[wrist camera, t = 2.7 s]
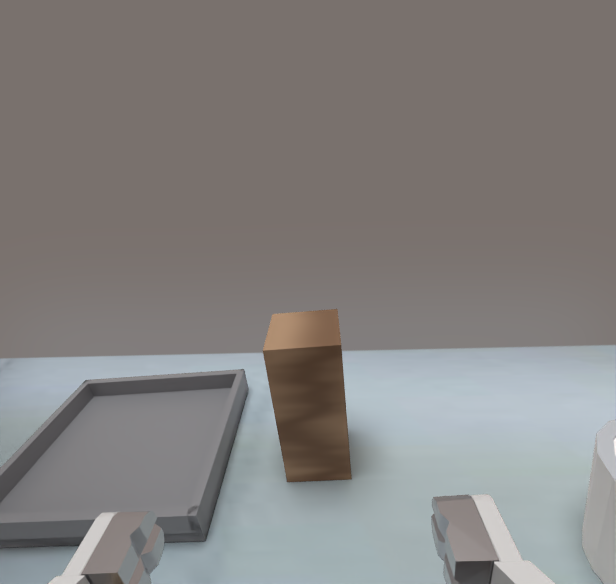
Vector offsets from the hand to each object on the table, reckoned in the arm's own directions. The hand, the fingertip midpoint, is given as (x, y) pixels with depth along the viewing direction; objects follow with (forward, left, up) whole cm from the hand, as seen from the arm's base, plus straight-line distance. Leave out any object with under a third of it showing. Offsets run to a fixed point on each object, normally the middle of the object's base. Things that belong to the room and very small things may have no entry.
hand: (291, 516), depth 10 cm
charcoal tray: (-15, +13, -12) cm, 23 cm away
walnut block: (0, +12, -12) cm, 17 cm away
